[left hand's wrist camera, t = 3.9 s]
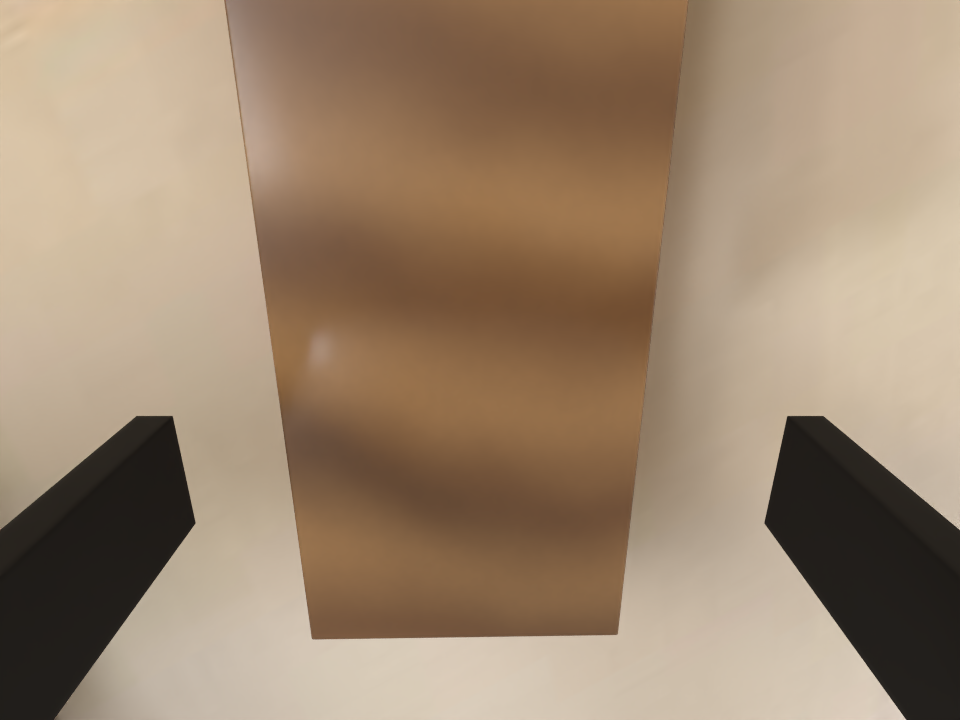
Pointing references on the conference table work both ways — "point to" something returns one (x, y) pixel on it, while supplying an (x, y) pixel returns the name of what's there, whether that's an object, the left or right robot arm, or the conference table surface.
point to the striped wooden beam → (460, 296)
